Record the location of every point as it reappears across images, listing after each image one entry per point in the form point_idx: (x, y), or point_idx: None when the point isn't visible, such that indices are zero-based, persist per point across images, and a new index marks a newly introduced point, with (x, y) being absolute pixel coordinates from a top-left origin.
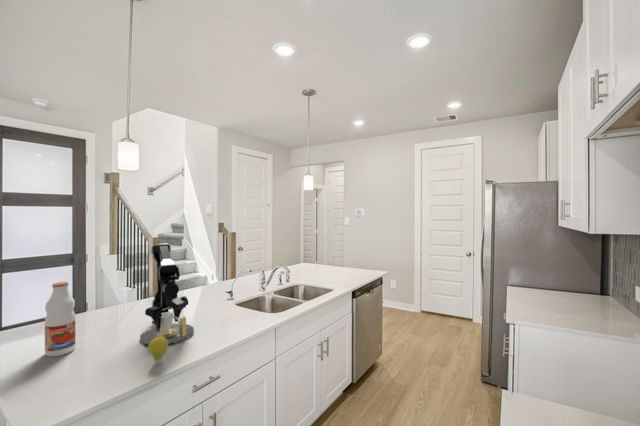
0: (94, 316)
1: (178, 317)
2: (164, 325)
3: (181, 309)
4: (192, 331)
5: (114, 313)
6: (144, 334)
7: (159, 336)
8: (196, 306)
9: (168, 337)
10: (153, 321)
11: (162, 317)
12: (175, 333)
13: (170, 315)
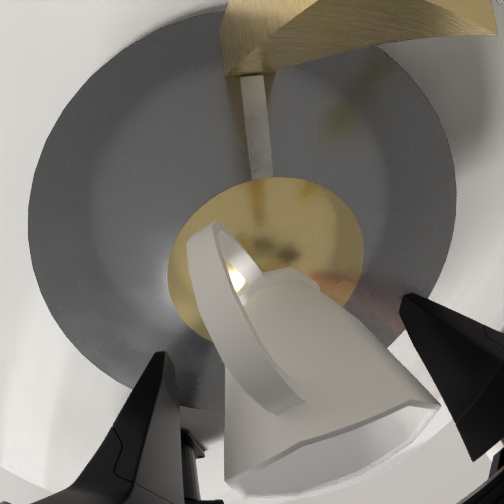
0: (280, 497)
1: (139, 392)
2: (356, 324)
3: (84, 500)
4: (86, 90)
5: (241, 500)
6: None
7: (362, 256)
8: (2, 437)
9: (347, 165)
10: (200, 454)
11: (434, 404)
12: (247, 192)
13: (352, 429)
